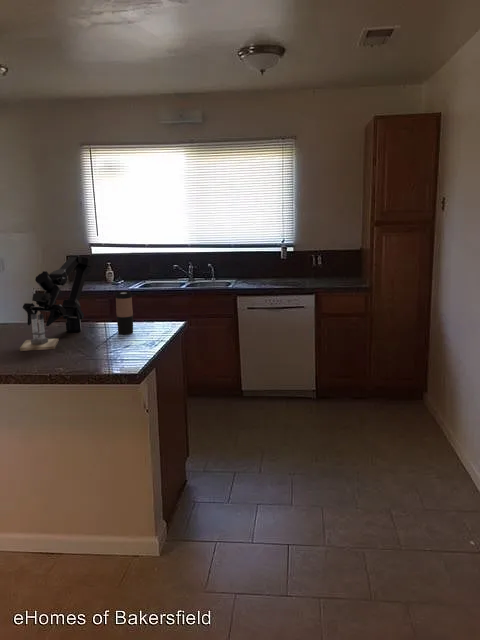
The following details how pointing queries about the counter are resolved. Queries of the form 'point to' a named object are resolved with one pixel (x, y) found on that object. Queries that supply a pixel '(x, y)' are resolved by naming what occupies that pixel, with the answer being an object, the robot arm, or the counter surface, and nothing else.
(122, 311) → the travel mug
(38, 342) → the two-prong grey stand
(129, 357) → the counter surface
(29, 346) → the plate
